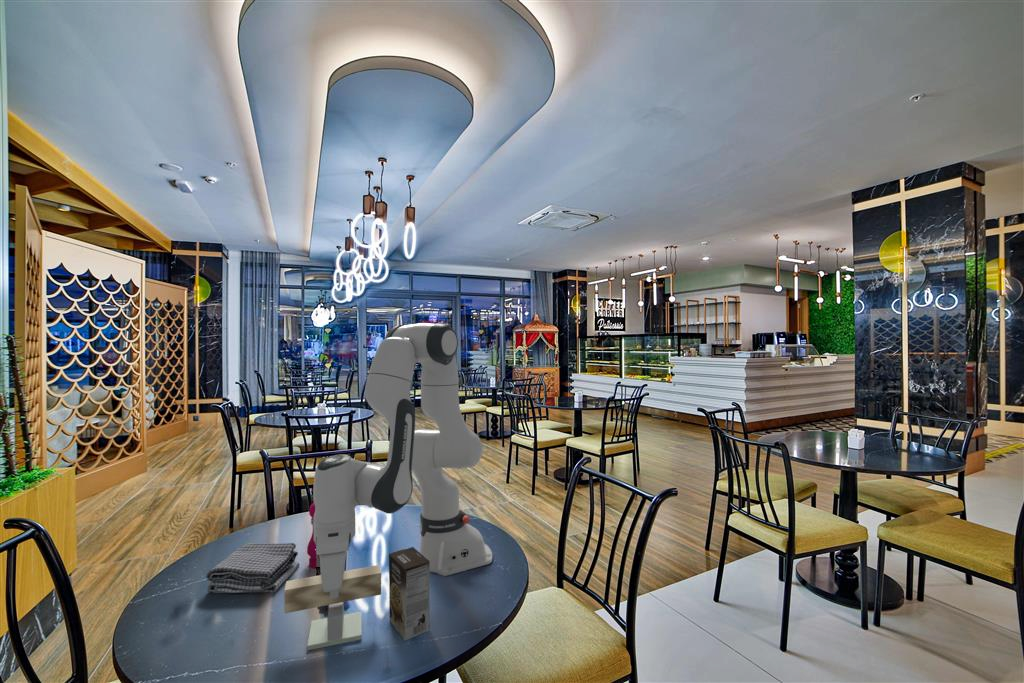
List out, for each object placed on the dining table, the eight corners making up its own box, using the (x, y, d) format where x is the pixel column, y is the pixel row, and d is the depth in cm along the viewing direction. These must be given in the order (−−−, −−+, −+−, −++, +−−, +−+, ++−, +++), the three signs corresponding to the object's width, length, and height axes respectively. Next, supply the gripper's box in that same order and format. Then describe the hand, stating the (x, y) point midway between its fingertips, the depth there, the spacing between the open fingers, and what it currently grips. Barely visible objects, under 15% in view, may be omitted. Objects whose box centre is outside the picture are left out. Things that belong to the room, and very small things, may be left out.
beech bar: (379, 585, 108) (379, 564, 108) (381, 594, 104) (381, 572, 104) (286, 603, 101) (286, 581, 101) (284, 613, 97) (284, 590, 97)
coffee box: (388, 621, 107) (387, 553, 107) (413, 611, 111) (413, 545, 111) (404, 642, 100) (403, 569, 99) (430, 630, 103) (430, 560, 103)
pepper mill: (324, 570, 130) (323, 501, 130) (301, 567, 131) (301, 499, 131) (338, 558, 137) (338, 492, 137) (317, 555, 139) (316, 490, 138)
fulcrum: (361, 615, 109) (361, 590, 109) (361, 639, 100) (361, 612, 100) (311, 624, 106) (311, 599, 105) (307, 650, 97) (307, 622, 97)
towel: (240, 566, 133) (240, 539, 133) (302, 567, 133) (302, 540, 133) (204, 596, 118) (203, 566, 118) (273, 596, 117) (273, 566, 117)
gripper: (323, 514, 111) (323, 570, 112) (315, 551, 92) (315, 618, 92) (350, 510, 113) (350, 565, 114) (348, 546, 94) (348, 612, 94)
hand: (335, 590), depth 103 cm, fingers closed on beech bar, 4 cm apart
